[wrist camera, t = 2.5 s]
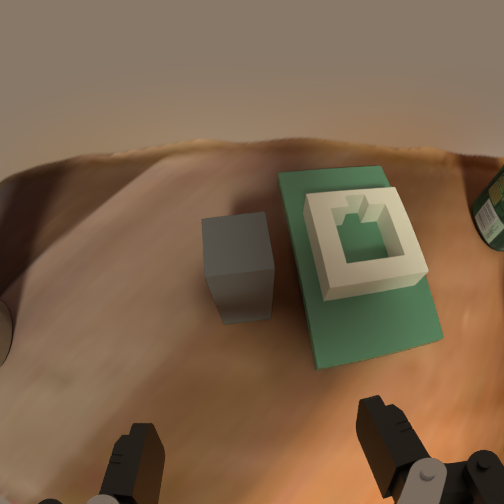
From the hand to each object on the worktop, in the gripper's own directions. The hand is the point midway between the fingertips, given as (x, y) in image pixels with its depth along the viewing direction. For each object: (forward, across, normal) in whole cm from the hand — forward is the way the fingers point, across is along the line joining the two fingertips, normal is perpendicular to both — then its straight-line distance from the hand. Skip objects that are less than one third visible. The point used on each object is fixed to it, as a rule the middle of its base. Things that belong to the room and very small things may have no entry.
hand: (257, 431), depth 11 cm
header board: (+19, -11, 0) cm, 22 cm away
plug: (+17, 0, +2) cm, 17 cm away
